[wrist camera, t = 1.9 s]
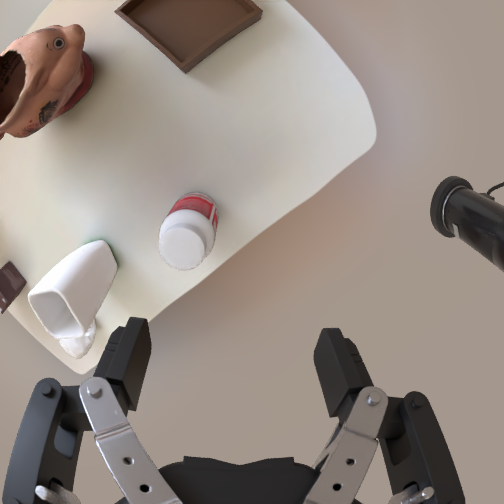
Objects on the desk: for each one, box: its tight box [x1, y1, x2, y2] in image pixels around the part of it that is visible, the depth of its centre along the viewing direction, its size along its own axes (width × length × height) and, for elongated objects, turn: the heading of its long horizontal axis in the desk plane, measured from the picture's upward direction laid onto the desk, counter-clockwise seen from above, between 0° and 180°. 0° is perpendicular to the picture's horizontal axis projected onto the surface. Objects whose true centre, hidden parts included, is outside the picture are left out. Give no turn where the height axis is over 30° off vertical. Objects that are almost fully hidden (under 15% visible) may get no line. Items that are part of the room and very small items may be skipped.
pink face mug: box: [0, 24, 94, 140], centre depth 19 cm, size 20×12×14 cm, turn 126°
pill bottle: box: [159, 193, 218, 270], centre depth 31 cm, size 6×6×11 cm
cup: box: [28, 240, 118, 339], centre depth 31 cm, size 7×7×15 cm
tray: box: [114, 0, 263, 74], centre depth 22 cm, size 14×12×3 cm
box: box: [0, 261, 26, 314], centre depth 35 cm, size 6×6×7 cm
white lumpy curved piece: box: [59, 319, 96, 359], centre depth 39 cm, size 6×8×12 cm
